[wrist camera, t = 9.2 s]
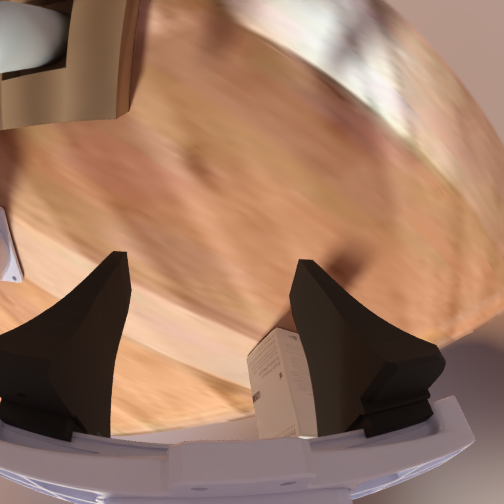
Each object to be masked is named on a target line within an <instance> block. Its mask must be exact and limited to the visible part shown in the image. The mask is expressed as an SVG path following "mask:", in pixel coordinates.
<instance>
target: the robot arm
mask: <svg viewBox="0 0 504 504" xmlns="http://www.w3.org/2000/svg"><path fill="white" fill-rule="evenodd" d="M23 279H24V278H23V274H22V271H21V268H20V265H19V262H18V259H17V256H16V253H15V249H14V246H13V242H12V239H11V235H10V231H9V227H8V223H7V219H6V215H5V211H4V209H3V208H2V207H0V282H1V280H2V281H11V282H19V283H20V282H22V281H23ZM131 291H132V289H131V282H130V275H129V267H128V259H127V252H120V251H113V252H112V253H111V254H110V255H109V256H107V257H106V258H105V259H104V260H103V261H102V262H101V263H100V264H99V265H98V266H97V267H96V268H95V269H94V270H93V271H92V272H91V273H90V274H89V275H88V276H87V277H86V278H85V279H84V280H83V281H82V282H81V283H80V284H79V285H78V286H77V287H75V288H74V289H73V290H72V291H71V292H70V293H69V294H68V295H66V296H65V297H64V298H63V299H61V300H60V301H59V302H57V303H56V304H55V305H53V306H52V307H50V308H49V309H47V310H46V311H44V312H43V313H41V314H40V315H38V316H37V317H35V318H33V319H32V320H30V321H28V322H26V323H25V324H23V325H21V326H19V327H17V328H15V329H13V330H11V331H8V332H6V333H4V334H1V335H0V397H1V398H2V399H1V402H0V476H2V477H4V478H6V479H8V480H11V481H13V482H16V483H18V484H21V485H23V486H26V487H28V488H31V489H33V490H36V491H39V492H41V493H44V494H47V495H50V496H53V497H56V498H59V499H62V500H65V501H69V502H72V503H76V504H353V503H352V500H353V499H356V498H360V497H362V496H366V495H369V494H372V493H374V492H377V491H380V490H383V489H385V488H388V487H391V486H393V485H396V484H398V483H401V482H403V481H406V480H408V479H410V478H413V477H415V476H417V475H420V474H422V473H424V472H426V471H429V470H431V469H433V468H435V467H437V466H439V465H441V464H443V463H445V462H446V461H448V460H449V459H451V458H452V457H454V456H455V455H457V454H458V453H459V452H461V451H462V450H464V449H465V448H466V447H468V446H469V445H471V444H472V443H474V442H475V438H474V436H473V433H472V431H471V429H470V427H469V425H468V423H467V420H466V418H465V416H464V414H463V412H462V410H461V408H460V406H459V404H458V402H457V400H456V398H455V396H450V397H447V398H444V399H441V400H438V401H436V402H434V403H432V404H431V405H430V404H429V402H428V400H427V399H429V398H430V393H429V391H428V388H429V387H430V386H431V385H432V384H433V383H434V382H435V381H436V379H437V378H438V377H439V376H440V375H441V373H442V372H443V370H444V367H445V364H446V361H445V359H444V357H443V356H442V354H441V352H440V350H439V349H438V347H437V345H435V344H432V343H430V342H427V341H425V340H422V339H419V338H417V337H415V336H413V335H411V334H408V333H406V332H404V331H402V330H401V329H399V328H397V327H395V326H393V325H392V324H390V323H388V322H387V321H385V320H383V319H382V318H380V317H379V316H377V315H376V314H374V313H373V312H371V311H370V310H369V309H367V308H366V307H364V306H363V305H362V304H361V303H359V302H358V301H357V300H356V299H355V298H353V297H352V296H351V295H350V294H349V293H348V292H346V291H345V290H344V289H343V288H342V287H341V286H340V285H339V284H338V283H337V282H335V281H334V280H333V279H332V278H331V277H330V276H329V275H328V274H327V273H326V272H325V271H324V270H323V269H322V268H321V267H320V266H319V265H318V264H317V263H315V262H314V261H313V260H305V259H299V261H298V265H297V268H296V272H295V276H294V280H293V283H292V287H291V291H290V294H289V297H290V304H291V309H292V315H293V318H294V322H295V325H296V328H297V331H298V334H299V337H300V340H301V343H302V346H303V350H304V353H305V356H306V359H307V363H308V368H309V373H310V378H311V384H312V390H313V397H314V404H315V413H316V422H317V434H318V437H316V438H309V439H302V438H299V437H277V438H265V439H250V440H218V441H205V440H204V441H202V440H201V441H184V442H181V443H177V444H174V445H173V444H158V443H146V442H136V441H127V440H119V439H112V438H110V416H111V395H112V383H113V374H114V366H115V359H116V354H117V350H118V346H119V343H120V339H121V335H122V332H123V328H124V324H125V321H126V317H127V314H128V310H129V304H130V297H131Z"/></svg>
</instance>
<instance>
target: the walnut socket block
mask: <svg viewBox="0 0 504 504" xmlns="http://www.w3.org/2000/svg"><path fill="white" fill-rule="evenodd" d="M0 1H10V2H16V3H22V4H27V5H32V6H37V7H42V8H47V9H51V10H55V11H59V12H63V13H66V14H68V15H70V16H71V21H70V28H69V37H68V47H67V56H66V57H65V58H64V59H62V60H61V61H60V62H58V63H56V64H54V65H51V66H45V67H36V68H29V69H22V70H16V71H10V72H4V73H0V130H6V129H12V128H19V127H26V126H33V125H41V124H50V123H60V122H72V121H86V120H105V119H117V118H119V117H120V116H122V115H124V114H125V113H127V112H129V97H130V81H131V68H132V57H133V47H134V38H135V30H136V23H137V16H138V9H139V3H140V0H0Z"/></svg>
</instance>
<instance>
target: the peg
mask: <svg viewBox="0 0 504 504" xmlns="http://www.w3.org/2000/svg"><path fill="white" fill-rule="evenodd" d="M70 21H71V16H70V15H68V14H66V13H63V12H59V11H55V10H51V9H47V8H42V7H37V6H32V5H27V4H22V3H16V2H10V1H0V73H4V72H10V71H16V70H22V69H29V68H36V67H45V66H51V65H54V64H56V63H58V62H60V61H61V60H62V59H64V58H65V57H66V56H67V47H68V37H69V28H70Z"/></svg>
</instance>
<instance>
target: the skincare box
mask: <svg viewBox="0 0 504 504" xmlns="http://www.w3.org/2000/svg"><path fill="white" fill-rule="evenodd" d="M247 364H248V371H249V378H250V384H251V390H252V397H253V404H254V409H255V416H256V422H257V428H258V434H259V439H265V438H277V437H299V438H302V439H309V438H316V437H318V434H317V422H316V413H315V404H314V397H313V390H312V384H311V378H310V373H309V368H308V363H307V359H306V356H305V353H304V350H303V346H302V343H301V340H300V337H299V334H298V333H295V332H291V331H288V330H285V329H281V328H278V327H276V328H275V329H273V330H272V331H271V332H270V333H269V334H268V335H267V336H266V337H265V338H264V339H263V340H262V341H261V342H260V343H259V345H258V346H257V347H256V348H255V349H254V350H253V351H252V352H251V353H250V354H249V356H248V358H247Z"/></svg>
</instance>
